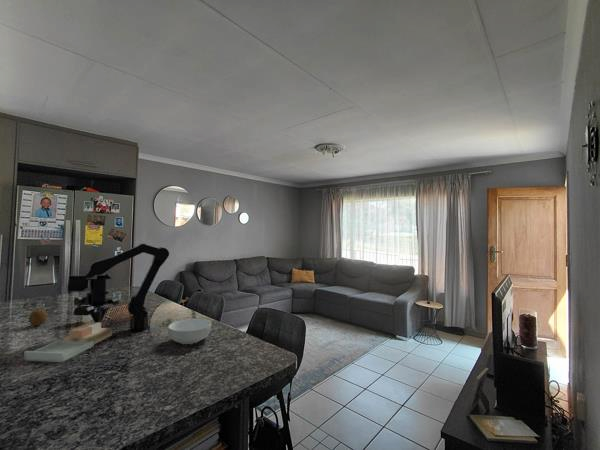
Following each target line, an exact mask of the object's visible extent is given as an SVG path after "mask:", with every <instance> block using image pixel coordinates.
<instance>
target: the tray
mask: <svg viewBox="0 0 600 450" xmlns="http://www.w3.org/2000/svg"><path fill="white" fill-rule="evenodd" d="M94 345H95V344H94V341H90V342H77V341H62V339H58V340H56V341H53V342H51V343H48V344H46V345H44V346H42V347H39V348H37V349H35V350H26V351H23V352H24V353H23V356H24V357H23V360H24V361H27V362H28V361H29V362H46V363H47V362H48V363H49V362H50V363H53V362H54V363H63V362H64V363H65V362H66V361H68V360H70V359H71V358H73V357H75V356H77V355H79V354H81V353H83V352H84V351H87V350H88V349H91V348H93V347H94Z"/></svg>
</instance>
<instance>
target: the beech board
mask: <svg viewBox="0 0 600 450" xmlns="http://www.w3.org/2000/svg"><path fill="white" fill-rule="evenodd" d="M69 335H70V333H69V334H67V335H65V336H62V338H61V340H62V341H77V342H90V341H94V345H96V344H97V343H99V342H102V341H103V340H106V339H108V338H109V337H111V336H112V335H113V328H112V327H111V328H110V327H108V328H107V327H101V330H99V331H97V332H95V333H92V334H90V335H88V336H86V337H83V338H69Z"/></svg>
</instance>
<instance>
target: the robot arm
mask: <svg viewBox="0 0 600 450" xmlns="http://www.w3.org/2000/svg"><path fill="white" fill-rule="evenodd" d="M143 253H144V254H147V255H151V256H152V261H151V265H150V266H149V268H148V270H147V272H146V275H145V277H144V278H143V280H142V282H141V284H140V286H139V288H138V289H137V292H136V293H135V294H130V297H129V300H128V301H127V302H126V303H127V311H128V313H129V314H130V315H132V316H130V317H131V318H130V320H129V321H130V324H129V329H128V331H129V332H143V331H145V330H147V329H150V327H151V326H150V325H149V314H148V310H147V308H146V307H145V306H144V304H145V301H146V297H147V295H148V292H149V290H150V288H151V286H152V284H153V283H154V280H155V278H156V276H157V274H158V272H159V269H160V268H161V267H162V266H163V265H164V263H165V262H166V261H167V259H168V258H169V256H170V252H169V250H168V249H167V248H166V247H162V246H159V247H156V246H152V245H148V244H146V243H140V244H138V245H136V246H135V247H132V248H130V249H126V250H125V251H123V252H121V253H118V254H116V255H114V256H110V257H106V258H102V259H99V260H96V261H94V262H93V263H92V264H91V266H90V269H89V271H87V272H86V273H85V274H79V275H77V274H76V275H75V274H74V275H73V274H70V275H69V276H68V283H67V292H68V293H74V292H85V291H86V290H87V289H89V290H90V291H89V292H87V294H86V296H84V297H82V296H77V297H74V299H73V305H74V306H77V307H76V308H74V309H73V315H74V316H82V315H84V316H86V315H91V316H92V318H93V321H94V322H98V323H101V324H102V321H103V319H104V317H105V316H106V314H107V313H108V311H109V310H110V307H108V306H109V305H112V306H117V305H119V303H120V300H119V298H118V297H107V295H108V294H109V291H108V290H107V280H111V279H112V275H110V274H109V273H108V271H109V270H111V269H112V268H113V267H115V266H117V265H118V264H120V263H123V262H125V261H127V260H129V259H132V258H134V257H137V256H138V255H140V254H143ZM106 272H107V273H106ZM105 273H106V274H105ZM95 276H96V277H95ZM89 285H90V286H89ZM82 305H90V306H82Z"/></svg>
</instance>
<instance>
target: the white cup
mask: <svg viewBox="0 0 600 450" xmlns="http://www.w3.org/2000/svg"><path fill="white" fill-rule="evenodd" d="M82 306H90V305H82ZM81 317H82V324H85V323H84V322H86V321H89V320H93V318H92V316H91V315H86V316H84V315H81Z"/></svg>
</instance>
